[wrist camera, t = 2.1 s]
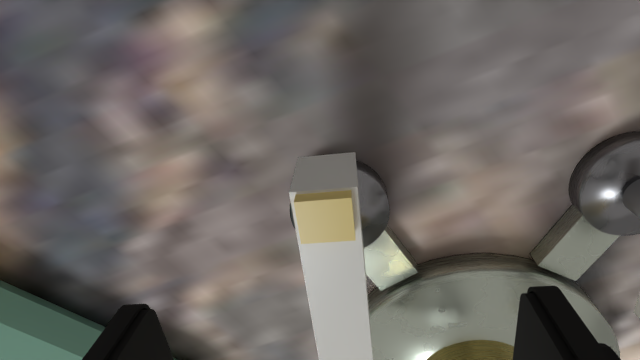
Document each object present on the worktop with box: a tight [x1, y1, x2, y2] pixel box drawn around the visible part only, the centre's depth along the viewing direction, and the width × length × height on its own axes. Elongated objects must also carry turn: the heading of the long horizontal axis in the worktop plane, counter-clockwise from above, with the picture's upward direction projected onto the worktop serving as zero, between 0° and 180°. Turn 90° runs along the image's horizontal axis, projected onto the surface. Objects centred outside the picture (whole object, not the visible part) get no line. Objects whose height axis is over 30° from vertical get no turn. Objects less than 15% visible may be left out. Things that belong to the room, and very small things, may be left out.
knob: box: [289, 152, 373, 360], centre depth 17 cm, size 9×2×6 cm, turn 7°
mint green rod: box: [0, 280, 177, 360], centre depth 24 cm, size 6×6×25 cm
